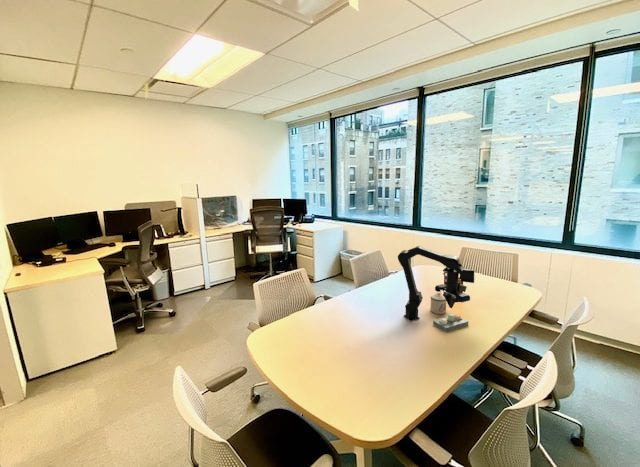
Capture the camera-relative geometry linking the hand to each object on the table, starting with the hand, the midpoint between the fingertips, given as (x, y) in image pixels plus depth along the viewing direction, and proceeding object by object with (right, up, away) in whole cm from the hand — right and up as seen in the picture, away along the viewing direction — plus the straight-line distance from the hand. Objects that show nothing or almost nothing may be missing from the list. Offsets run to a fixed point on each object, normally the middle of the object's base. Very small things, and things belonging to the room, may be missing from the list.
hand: (450, 307), depth 158 cm
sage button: (+1, -8, +2) cm, 8 cm away
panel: (+1, -10, +2) cm, 10 cm away
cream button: (-4, -10, 0) cm, 11 cm away
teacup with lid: (+2, -7, +20) cm, 21 cm away
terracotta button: (+5, -9, +4) cm, 11 cm away
